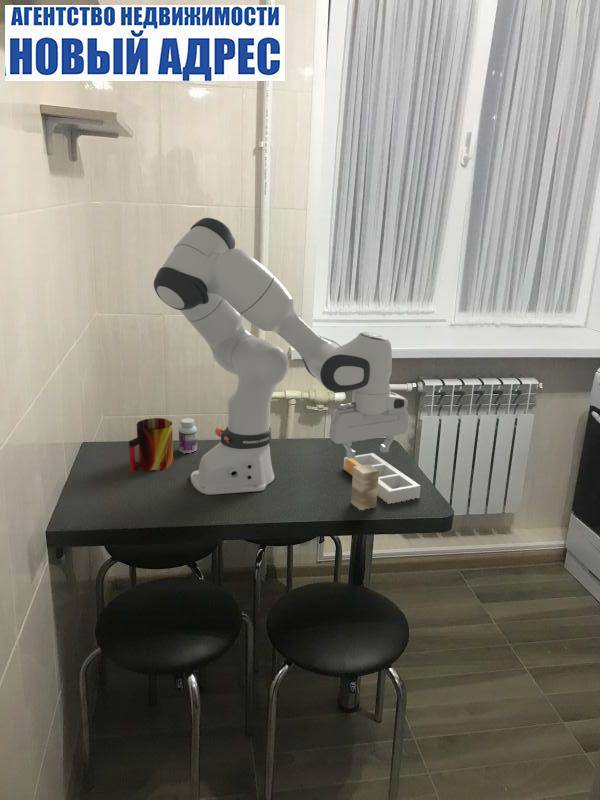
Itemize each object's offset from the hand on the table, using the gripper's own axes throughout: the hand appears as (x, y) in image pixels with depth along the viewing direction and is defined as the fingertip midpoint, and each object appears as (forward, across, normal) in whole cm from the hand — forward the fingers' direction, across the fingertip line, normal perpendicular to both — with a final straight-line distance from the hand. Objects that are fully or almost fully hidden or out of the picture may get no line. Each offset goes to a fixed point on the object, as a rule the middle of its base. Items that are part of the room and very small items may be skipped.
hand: (367, 454), depth 156 cm
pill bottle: (+14, -32, +50) cm, 61 cm away
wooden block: (+14, 0, 0) cm, 14 cm away
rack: (+14, +11, +10) cm, 20 cm away
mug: (+13, -44, +42) cm, 62 cm away
